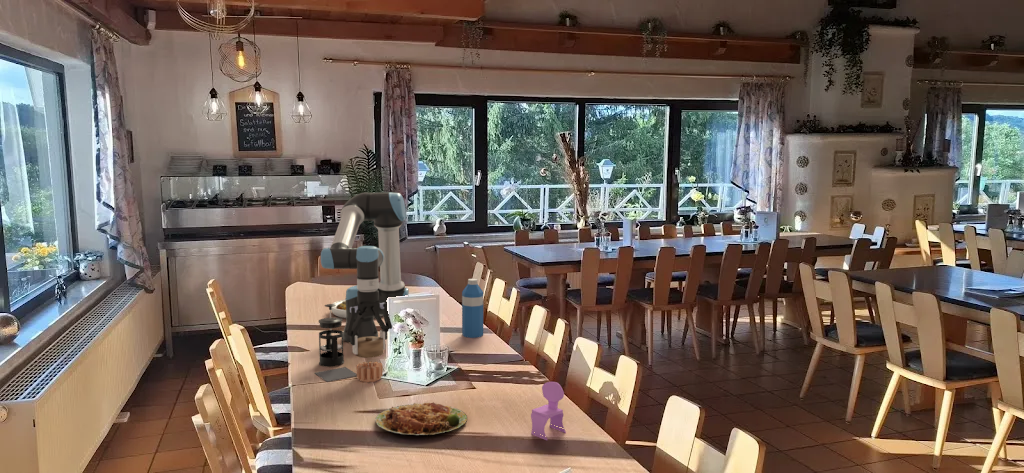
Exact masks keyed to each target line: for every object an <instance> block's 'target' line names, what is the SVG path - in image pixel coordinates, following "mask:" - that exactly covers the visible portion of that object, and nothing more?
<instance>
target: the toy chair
mask: <svg viewBox="0 0 1024 473" xmlns="http://www.w3.org/2000/svg"><path fill="white" fill-rule="evenodd" d="M541 392H542V396H543V398H544V399H546V400H547V402H548V403H547V404H544V405H542V406H538V407H536V408H533V409H531V413H530V418H531V419H530V420H531V433H530V435H532V436H535V437H536V438H540V439H542V440H545V441H548V436H547V435H546V432H545V429H546V424H547V422H548V421H549V419H550V422H549V428H551V429H553V430H557V431H559V432H562V433H564V434H566V430H565V429H566V428H565V426H564V424H563V423H564V422H563V419H564V410H563V409H561V408H559V407H558V405H559V402H560V401H561V400H562V399H564V396H565V392H564V390H563V388H562V386H561V384H559V382H556V381H547V382H545V383H543V384H542V387H541ZM551 424H552V425H551ZM554 425H555V426H554ZM556 426H558V427H556ZM559 427H562V428H564V429H562V428H559ZM534 432H535V433H534ZM540 434H541V435H540ZM542 435H543V436H542ZM545 436H546V437H545Z"/></svg>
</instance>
